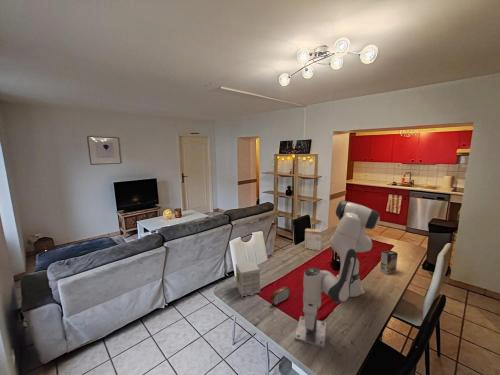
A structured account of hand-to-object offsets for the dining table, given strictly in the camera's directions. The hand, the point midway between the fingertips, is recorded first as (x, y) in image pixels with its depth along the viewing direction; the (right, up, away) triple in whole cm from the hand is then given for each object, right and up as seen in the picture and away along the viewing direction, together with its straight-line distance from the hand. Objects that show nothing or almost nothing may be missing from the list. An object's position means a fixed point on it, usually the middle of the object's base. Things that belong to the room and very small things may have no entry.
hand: (311, 324), depth 115 cm
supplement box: (-33, 0, +38) cm, 50 cm away
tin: (-13, -1, +25) cm, 28 cm away
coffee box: (+75, +5, +57) cm, 94 cm away
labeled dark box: (0, -2, 0) cm, 2 cm away
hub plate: (0, -4, +1) cm, 4 cm away
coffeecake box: (+30, +11, +101) cm, 106 cm away
